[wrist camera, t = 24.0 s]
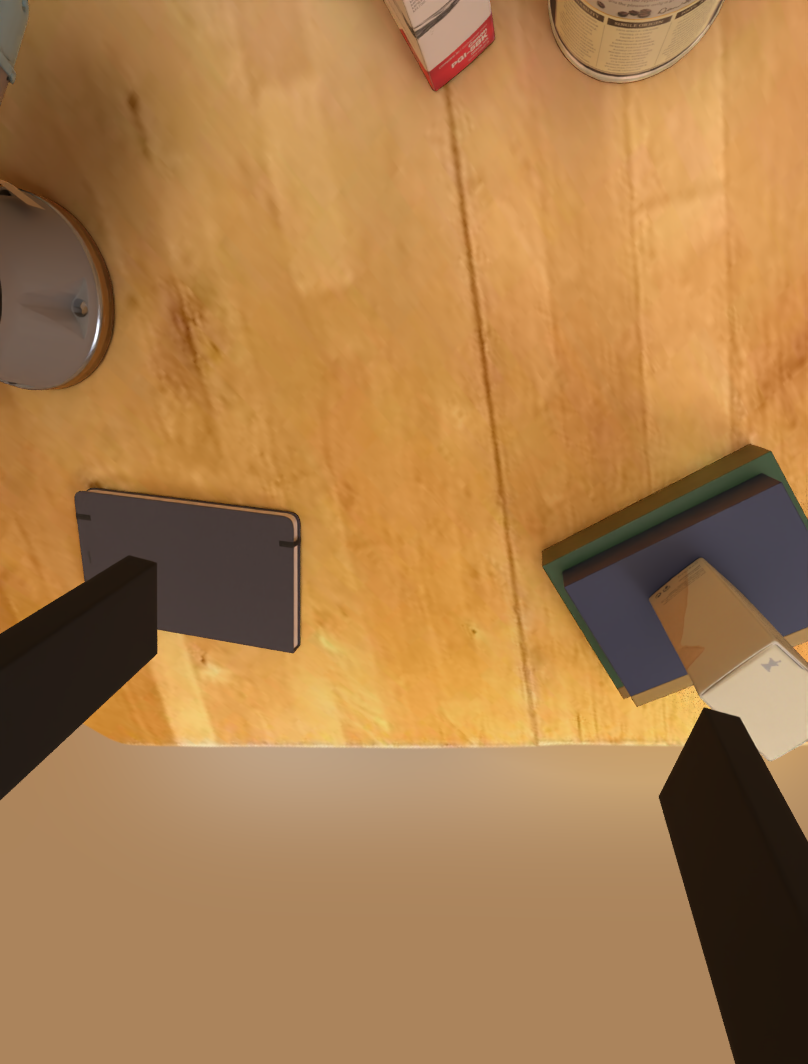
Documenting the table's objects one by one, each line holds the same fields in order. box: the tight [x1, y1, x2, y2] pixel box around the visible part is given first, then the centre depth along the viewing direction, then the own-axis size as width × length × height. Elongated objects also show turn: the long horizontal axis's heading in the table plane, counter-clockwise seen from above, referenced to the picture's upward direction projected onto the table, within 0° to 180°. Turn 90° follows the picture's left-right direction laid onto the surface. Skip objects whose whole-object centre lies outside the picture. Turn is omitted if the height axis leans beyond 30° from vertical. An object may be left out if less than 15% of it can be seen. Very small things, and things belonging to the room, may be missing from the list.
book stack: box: [542, 444, 808, 707], centre depth 38 cm, size 16×12×7 cm
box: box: [649, 558, 808, 761], centre depth 30 cm, size 5×4×11 cm
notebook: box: [75, 488, 301, 653], centre depth 50 cm, size 13×2×21 cm
